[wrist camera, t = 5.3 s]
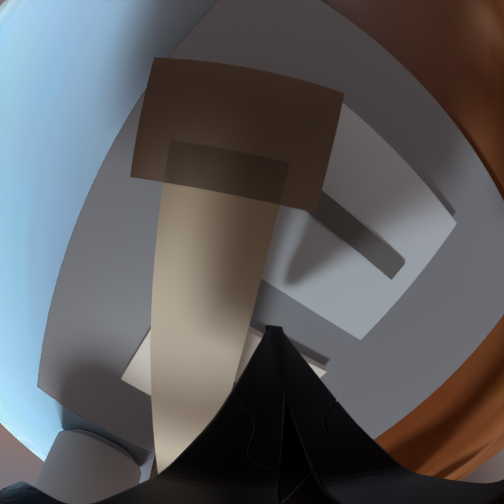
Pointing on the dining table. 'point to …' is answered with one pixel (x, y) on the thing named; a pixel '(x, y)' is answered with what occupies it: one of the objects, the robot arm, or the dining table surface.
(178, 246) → the bar
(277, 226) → the panel
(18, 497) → the robot arm
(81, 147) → the dining table surface
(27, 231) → the dining table surface
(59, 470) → the can
